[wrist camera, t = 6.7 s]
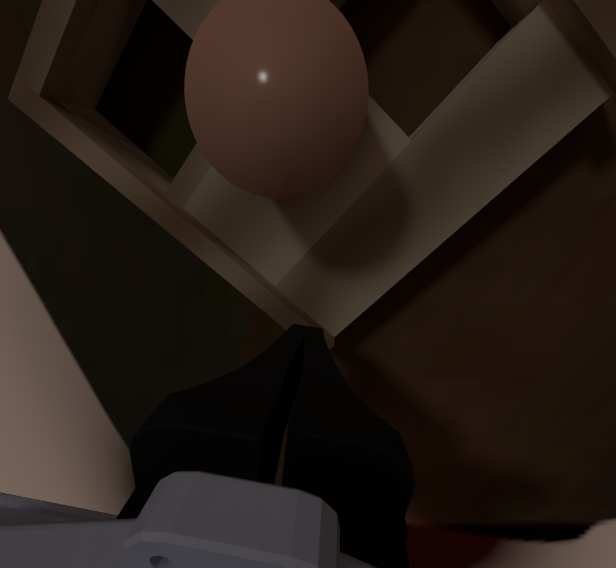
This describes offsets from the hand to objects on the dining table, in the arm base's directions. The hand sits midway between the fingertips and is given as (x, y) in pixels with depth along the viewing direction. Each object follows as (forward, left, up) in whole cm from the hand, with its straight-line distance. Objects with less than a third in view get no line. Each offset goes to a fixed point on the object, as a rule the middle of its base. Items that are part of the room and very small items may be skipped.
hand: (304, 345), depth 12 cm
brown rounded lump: (+6, -6, -2) cm, 9 cm away
